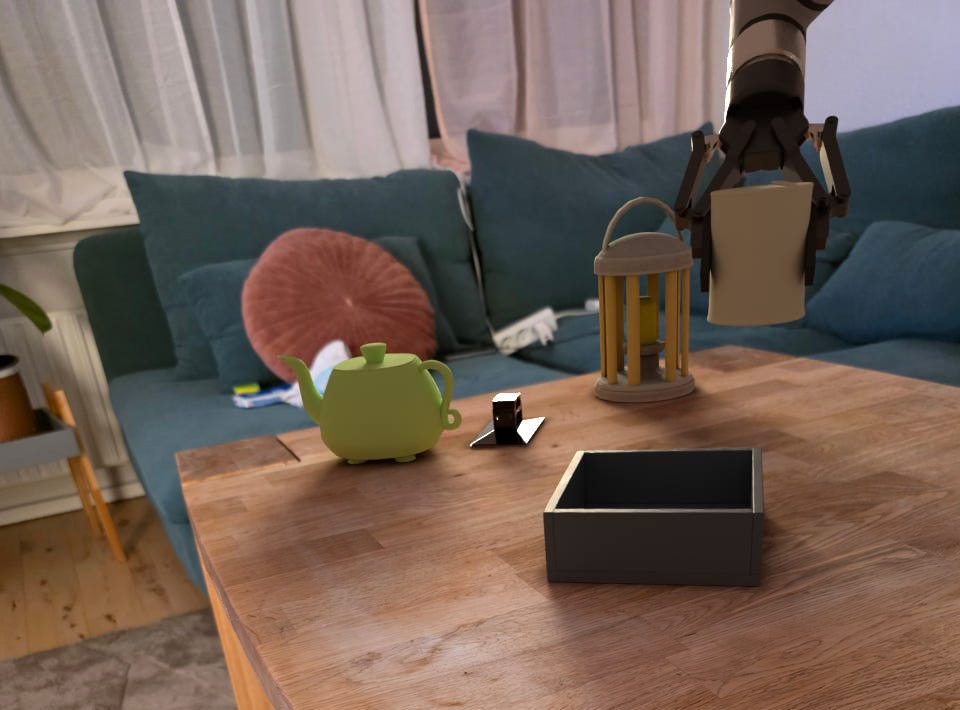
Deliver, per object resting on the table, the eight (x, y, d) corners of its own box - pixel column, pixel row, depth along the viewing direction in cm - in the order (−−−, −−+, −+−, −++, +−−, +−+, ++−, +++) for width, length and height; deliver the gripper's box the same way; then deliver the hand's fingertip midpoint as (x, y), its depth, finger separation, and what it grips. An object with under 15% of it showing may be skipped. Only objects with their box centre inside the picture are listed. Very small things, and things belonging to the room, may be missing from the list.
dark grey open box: (758, 510, 82) (761, 447, 79) (760, 586, 68) (764, 512, 65) (579, 510, 87) (577, 450, 84) (547, 581, 73) (542, 512, 70)
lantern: (680, 374, 134) (682, 190, 123) (707, 395, 122) (712, 192, 110) (586, 385, 134) (580, 201, 123) (604, 406, 122) (598, 204, 110)
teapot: (275, 474, 108) (252, 363, 101) (317, 439, 120) (299, 339, 114) (451, 468, 103) (438, 351, 97) (476, 432, 116) (466, 327, 110)
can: (759, 329, 82) (766, 184, 76) (687, 322, 89) (689, 188, 84) (825, 313, 86) (837, 174, 80) (751, 307, 93) (757, 179, 88)
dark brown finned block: (526, 446, 108) (523, 408, 106) (468, 448, 110) (464, 410, 108) (544, 419, 119) (542, 383, 117) (492, 420, 121) (488, 386, 119)
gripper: (875, 106, 89) (874, 298, 83) (658, 131, 95) (643, 311, 89) (887, 38, 83) (888, 242, 77) (653, 69, 89) (636, 260, 83)
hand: (756, 279), depth 83 cm, fingers closed on can, 9 cm apart
